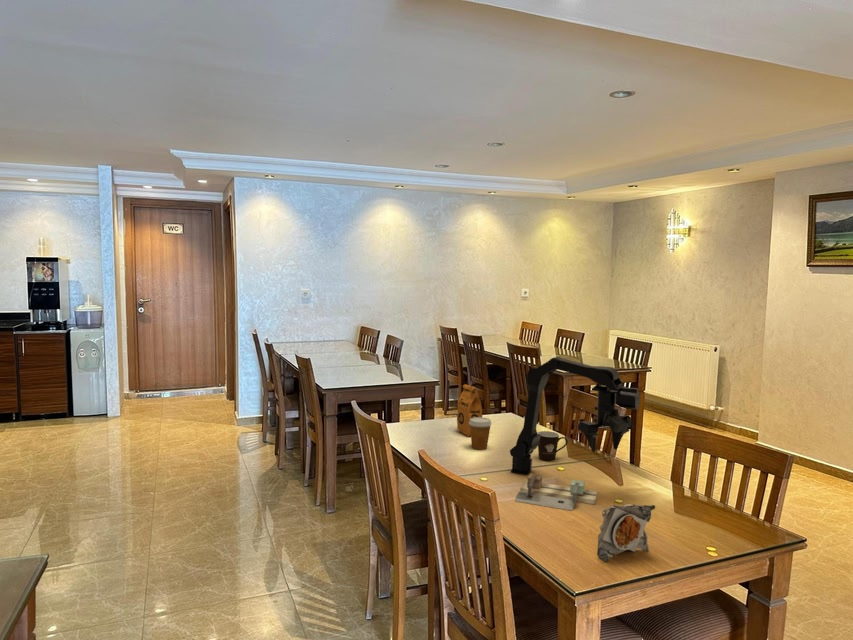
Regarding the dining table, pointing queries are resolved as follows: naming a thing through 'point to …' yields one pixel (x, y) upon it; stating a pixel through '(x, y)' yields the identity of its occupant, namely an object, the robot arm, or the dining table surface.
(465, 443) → the dining table surface
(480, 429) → the disposable coffee cup
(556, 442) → the coffee mug
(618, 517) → the meal
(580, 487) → the slider leg
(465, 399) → the coffee package
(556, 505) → the bolt hole plate
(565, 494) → the board
